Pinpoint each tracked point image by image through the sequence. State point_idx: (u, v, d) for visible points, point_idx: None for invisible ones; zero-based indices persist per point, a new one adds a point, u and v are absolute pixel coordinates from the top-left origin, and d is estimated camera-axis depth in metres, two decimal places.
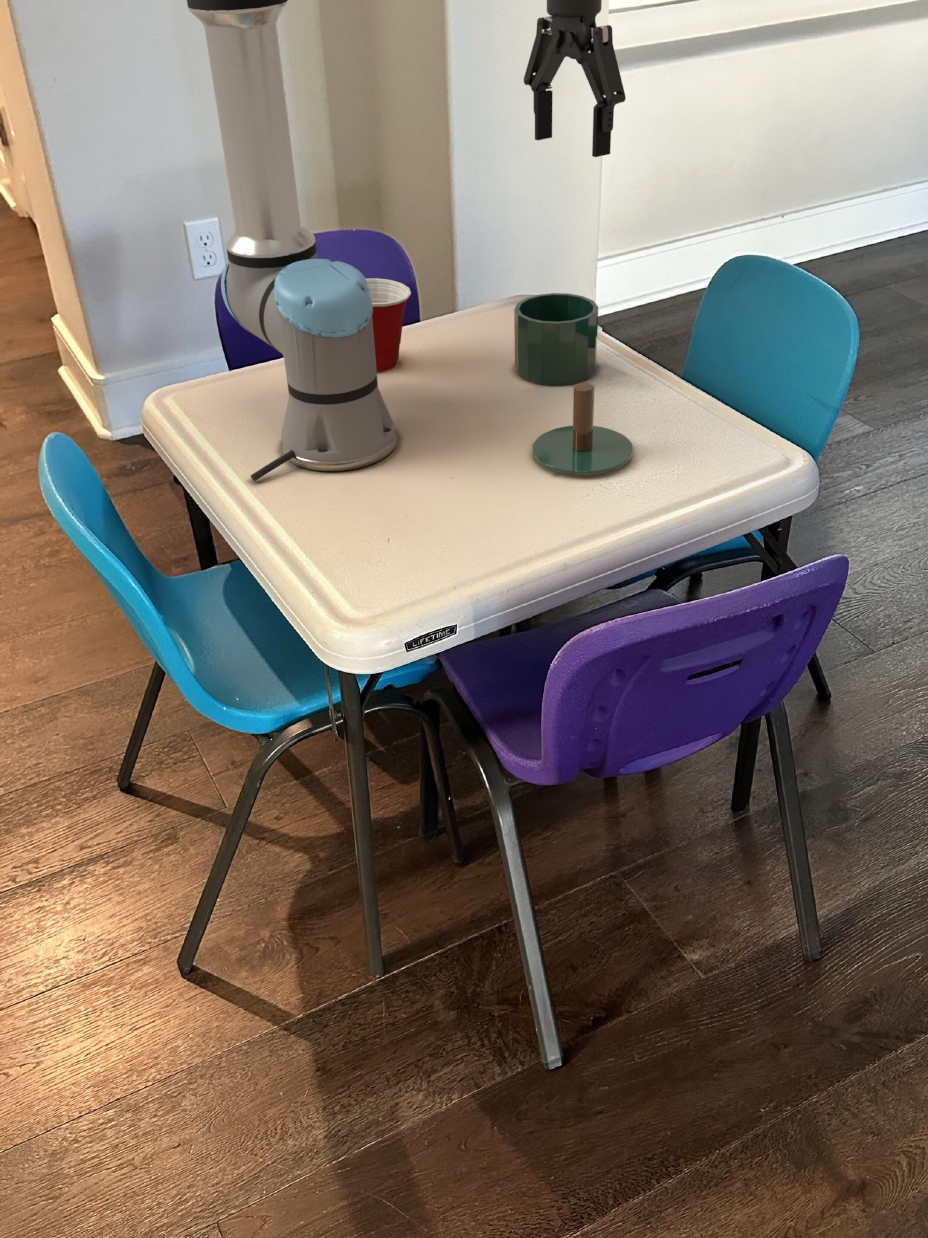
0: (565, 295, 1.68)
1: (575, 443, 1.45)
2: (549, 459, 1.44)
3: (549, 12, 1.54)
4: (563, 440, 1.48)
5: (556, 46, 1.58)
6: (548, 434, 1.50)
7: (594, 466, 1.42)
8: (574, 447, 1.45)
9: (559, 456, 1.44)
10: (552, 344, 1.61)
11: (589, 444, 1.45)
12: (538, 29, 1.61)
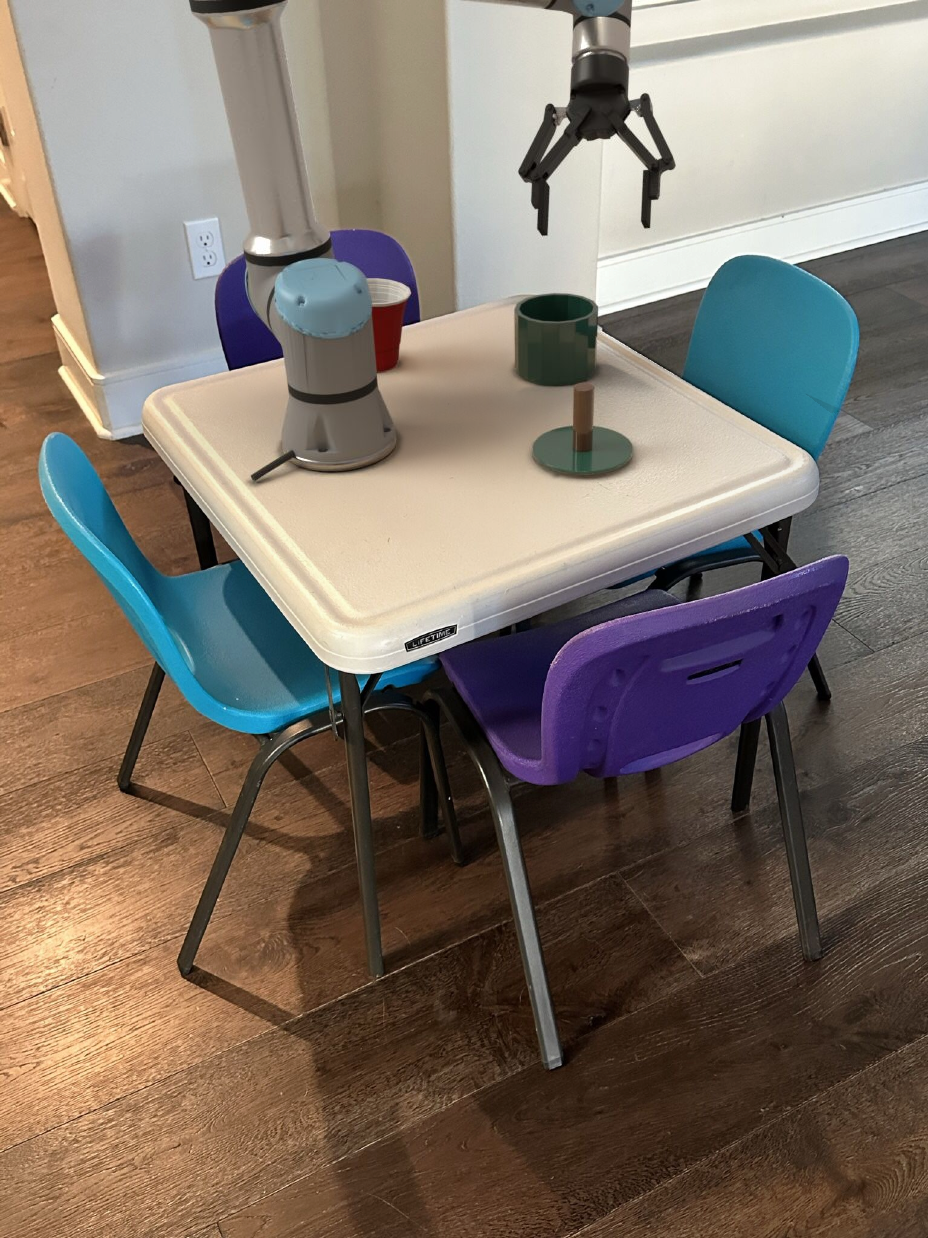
0: (565, 295, 1.68)
1: (575, 443, 1.45)
2: (549, 459, 1.44)
3: (587, 79, 1.43)
4: (563, 440, 1.48)
5: (581, 122, 1.45)
6: (548, 434, 1.50)
7: (594, 466, 1.42)
8: (574, 447, 1.45)
9: (559, 456, 1.44)
10: (552, 344, 1.61)
11: (589, 444, 1.45)
12: (547, 114, 1.47)
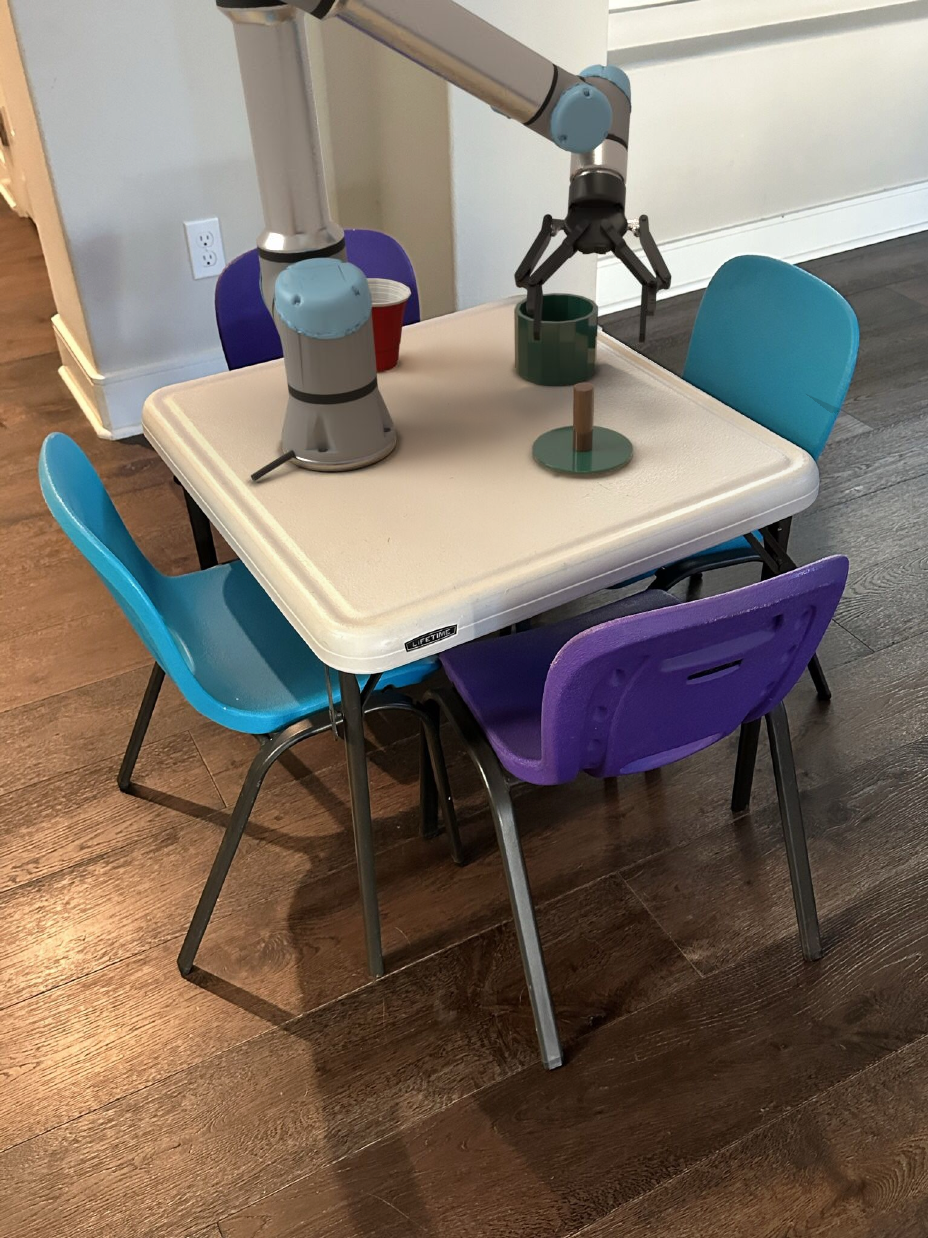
0: (565, 295, 1.68)
1: (575, 443, 1.45)
2: (549, 459, 1.44)
3: (590, 194, 1.45)
4: (563, 440, 1.48)
5: (580, 235, 1.46)
6: (548, 434, 1.50)
7: (594, 466, 1.42)
8: (574, 447, 1.45)
9: (559, 456, 1.44)
10: (552, 344, 1.61)
11: (589, 444, 1.45)
12: (545, 224, 1.47)
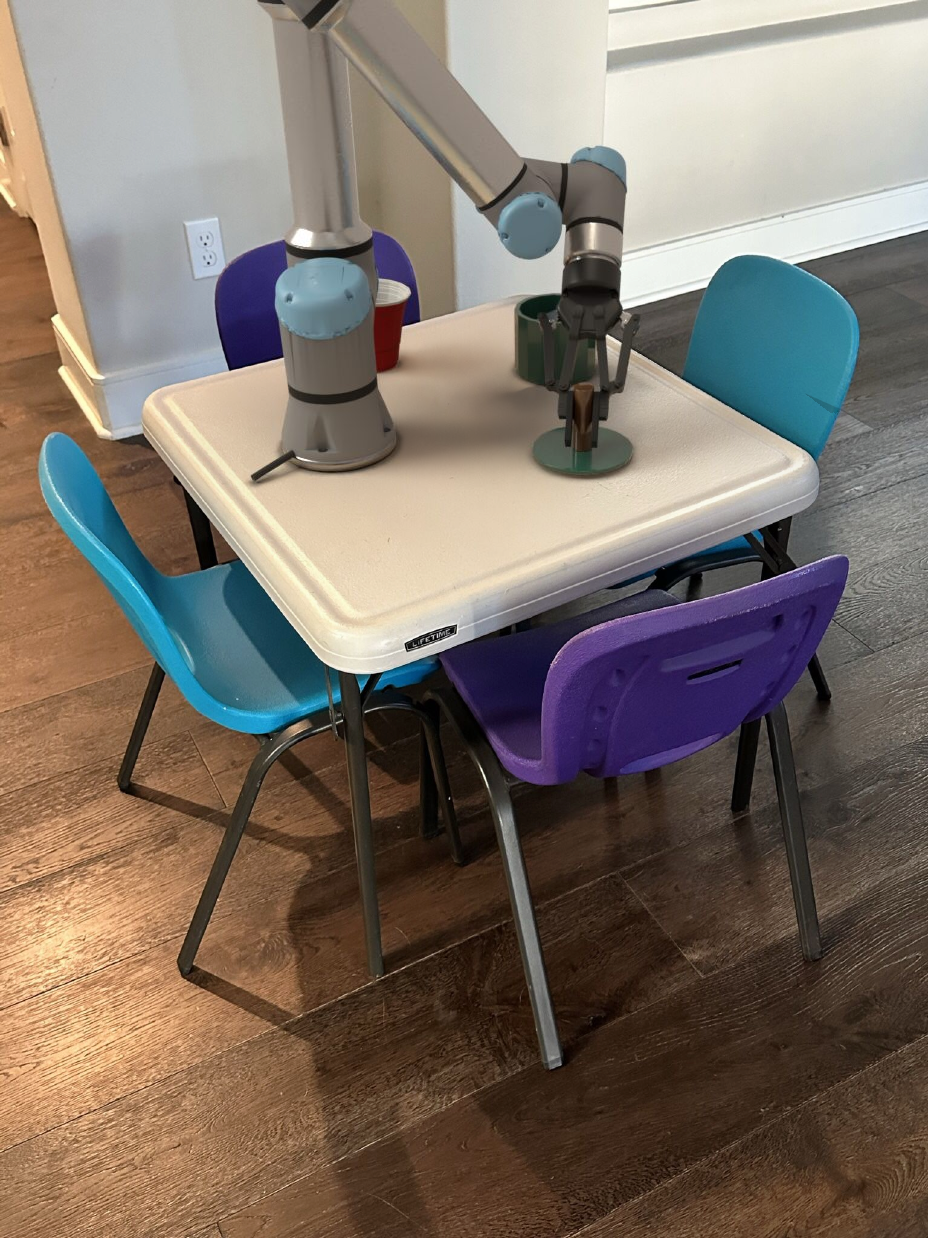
0: None
1: (575, 443, 1.45)
2: (549, 459, 1.44)
3: (583, 280, 1.41)
4: (563, 440, 1.48)
5: (581, 322, 1.42)
6: (548, 434, 1.50)
7: (594, 466, 1.42)
8: (574, 447, 1.45)
9: (559, 456, 1.44)
10: None
11: (589, 444, 1.45)
12: (544, 322, 1.44)
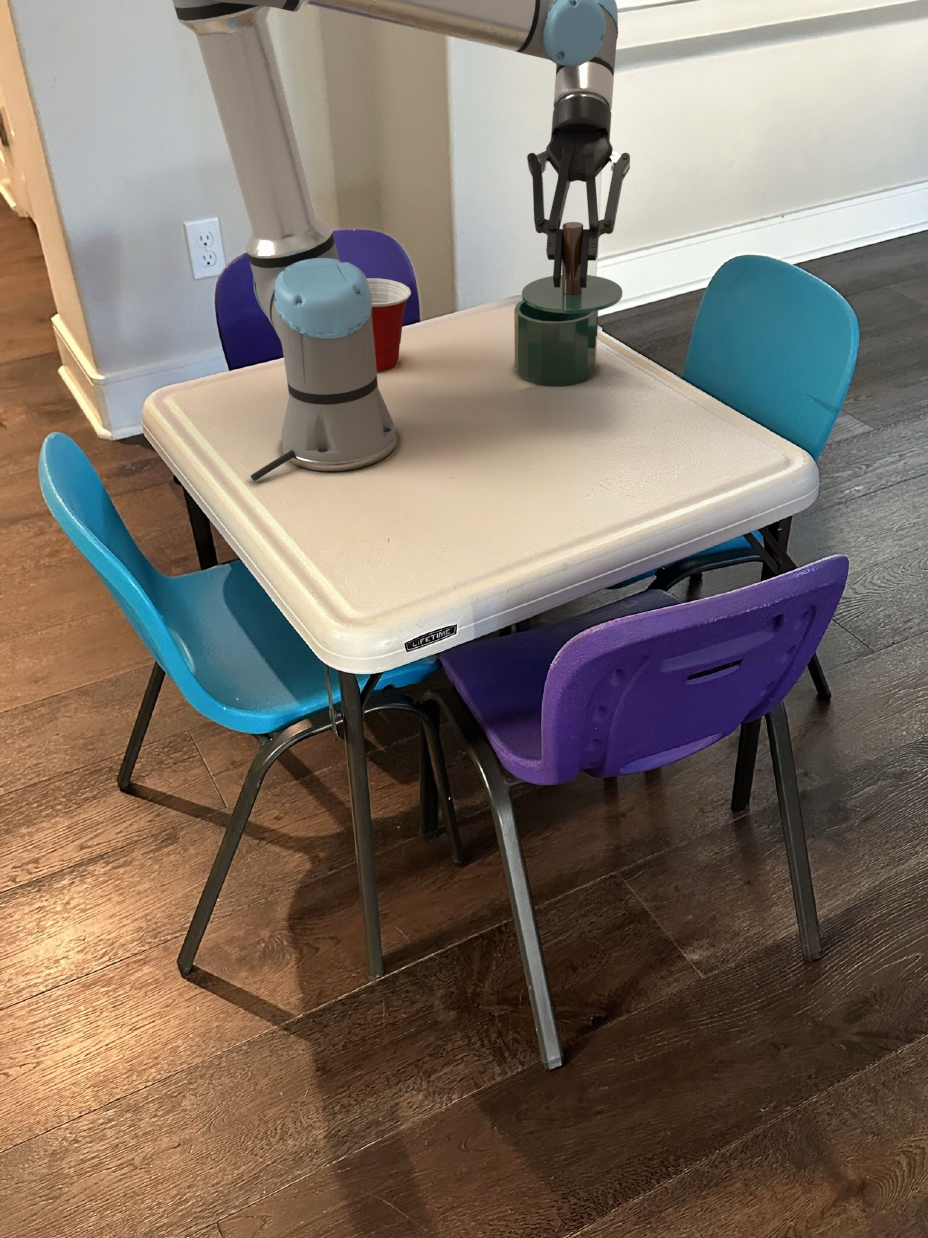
0: None
1: (564, 285, 1.45)
2: (538, 300, 1.44)
3: (573, 118, 1.41)
4: (553, 286, 1.48)
5: (570, 161, 1.42)
6: (538, 281, 1.49)
7: (583, 305, 1.42)
8: (563, 290, 1.45)
9: (548, 298, 1.44)
10: (552, 344, 1.61)
11: (578, 286, 1.44)
12: (533, 163, 1.43)
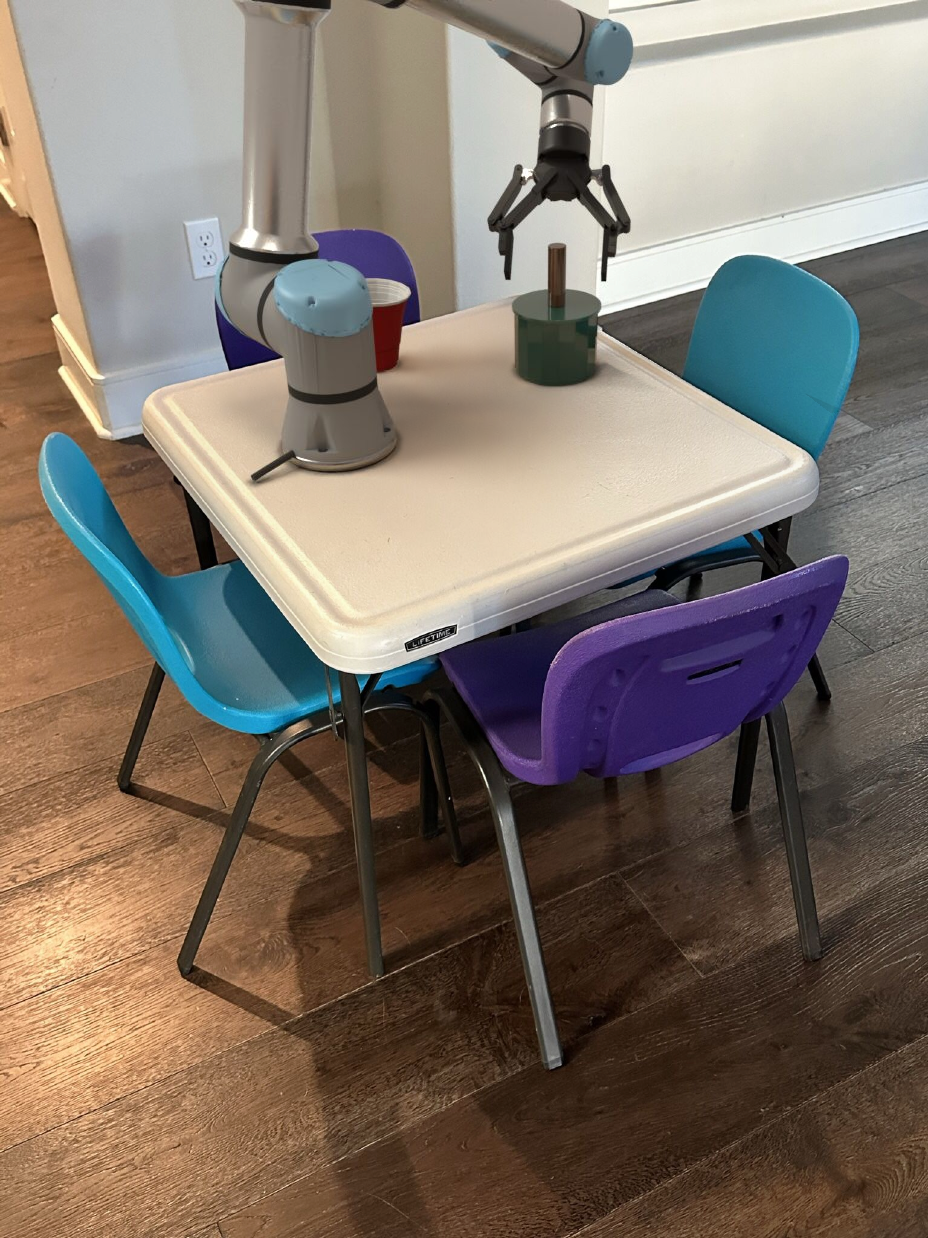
0: None
1: (550, 299, 1.62)
2: (526, 312, 1.61)
3: (556, 145, 1.58)
4: (539, 299, 1.65)
5: (548, 183, 1.59)
6: (526, 295, 1.67)
7: (566, 317, 1.59)
8: (549, 303, 1.63)
9: (535, 310, 1.62)
10: (552, 344, 1.61)
11: (562, 299, 1.62)
12: (516, 173, 1.61)
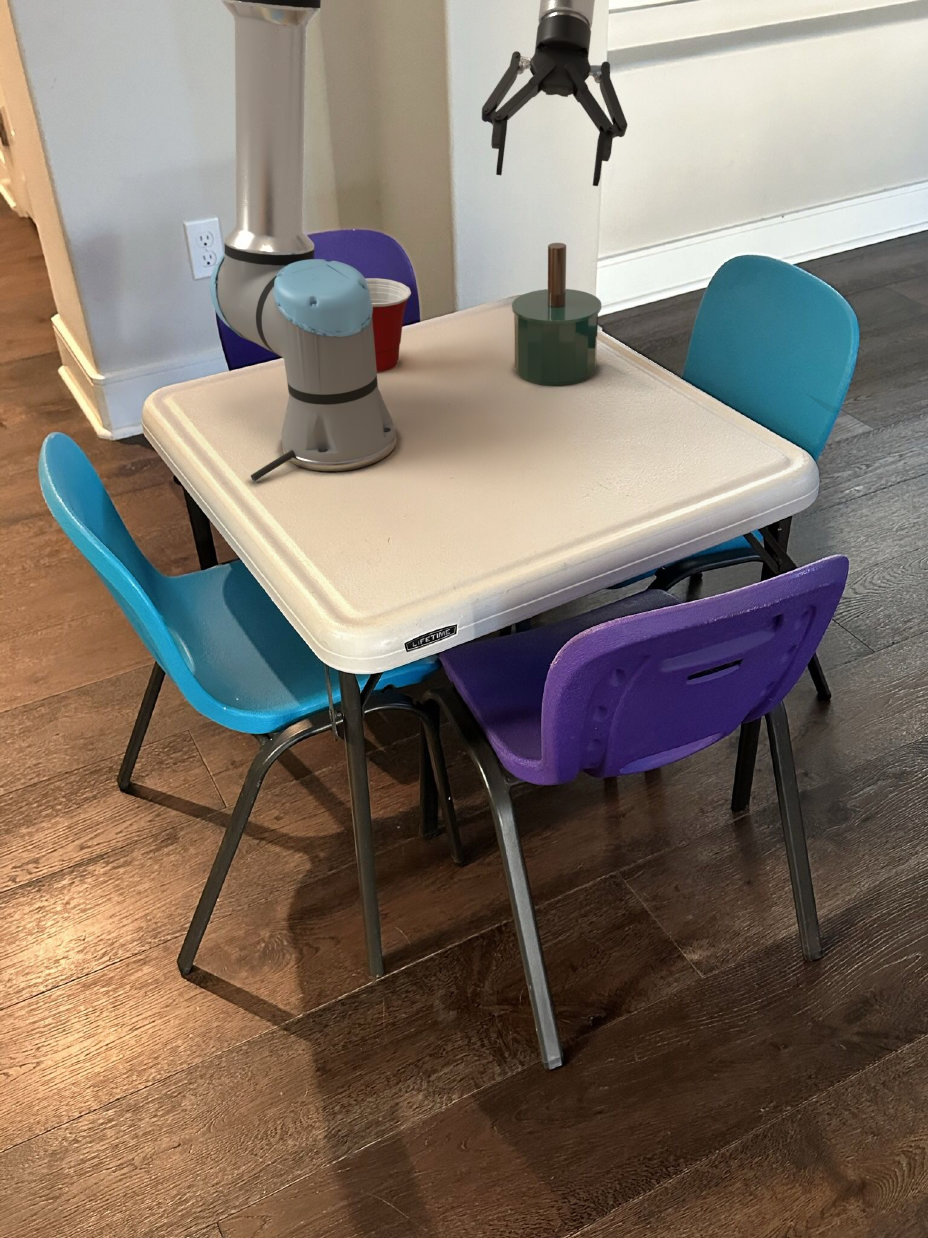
0: None
1: (550, 299, 1.62)
2: (526, 312, 1.61)
3: (558, 36, 1.53)
4: (539, 299, 1.65)
5: (546, 75, 1.55)
6: (526, 295, 1.67)
7: (566, 317, 1.59)
8: (549, 303, 1.63)
9: (535, 310, 1.62)
10: (552, 344, 1.61)
11: (562, 299, 1.62)
12: (514, 61, 1.56)
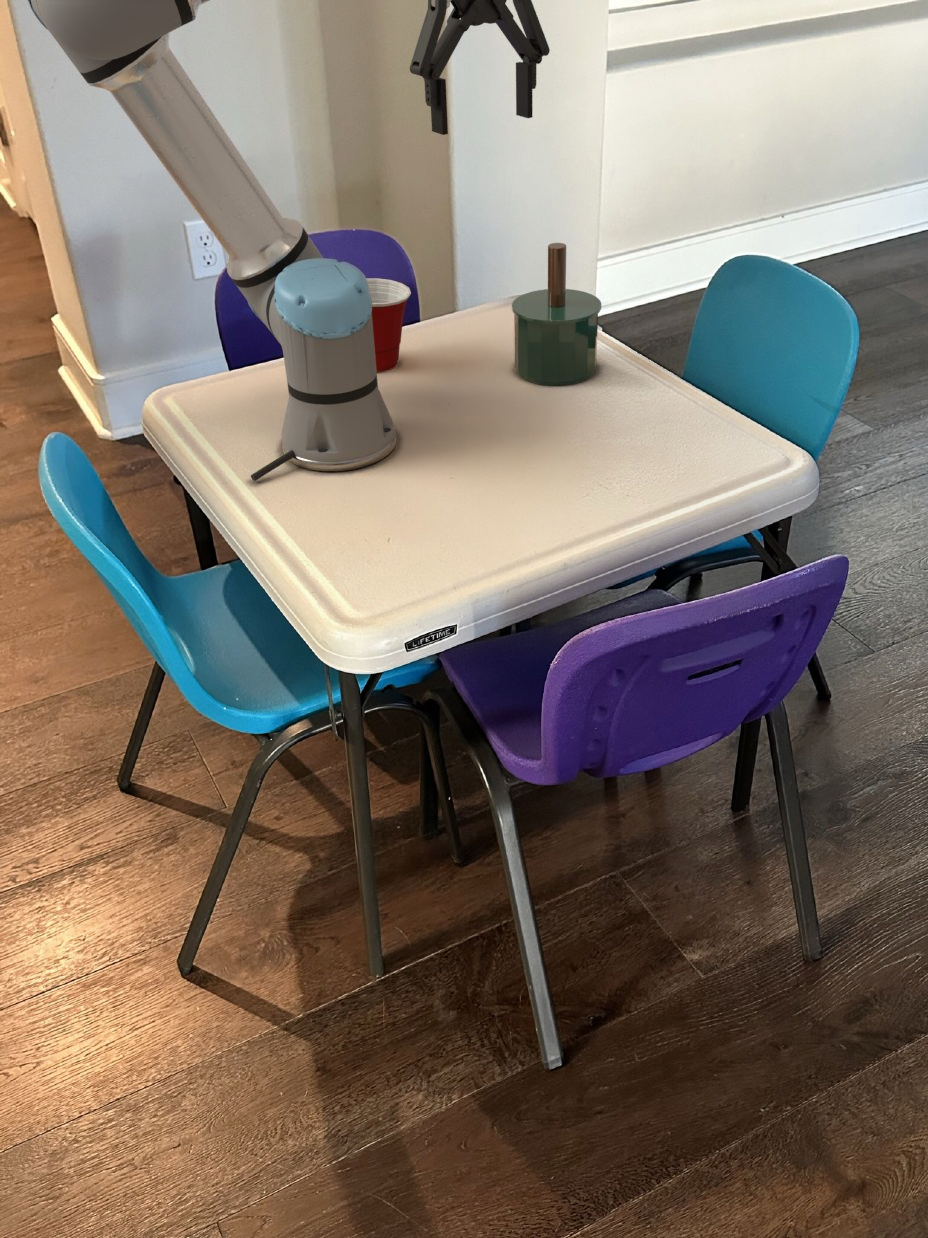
0: None
1: (550, 299, 1.62)
2: (526, 312, 1.61)
3: None
4: (539, 299, 1.65)
5: None
6: (526, 295, 1.67)
7: (566, 317, 1.59)
8: (549, 303, 1.63)
9: (535, 310, 1.62)
10: (552, 344, 1.61)
11: (562, 299, 1.62)
12: (441, 3, 1.37)
